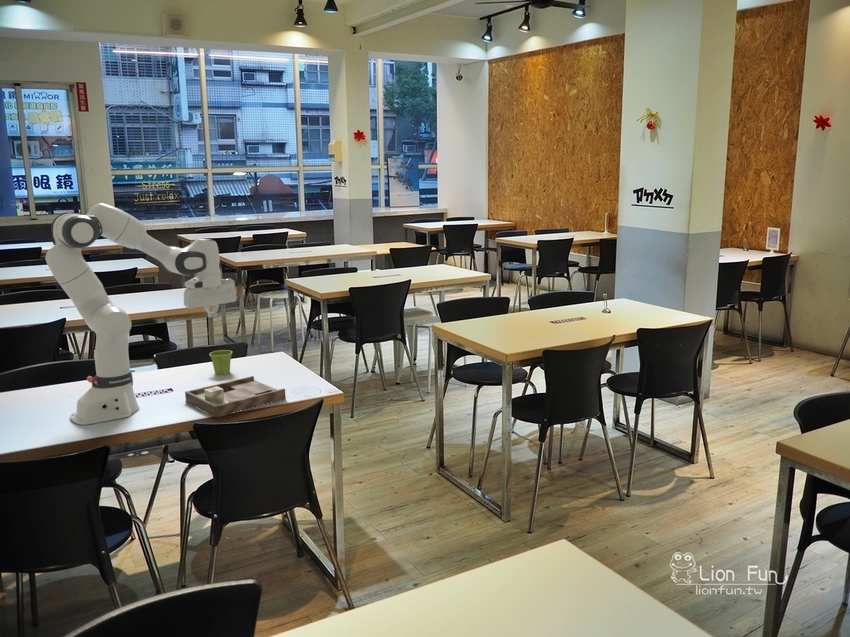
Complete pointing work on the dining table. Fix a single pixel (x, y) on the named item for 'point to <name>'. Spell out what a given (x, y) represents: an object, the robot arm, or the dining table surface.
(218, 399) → the cream block
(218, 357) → the plant pot
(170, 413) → the dining table surface
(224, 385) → the box
